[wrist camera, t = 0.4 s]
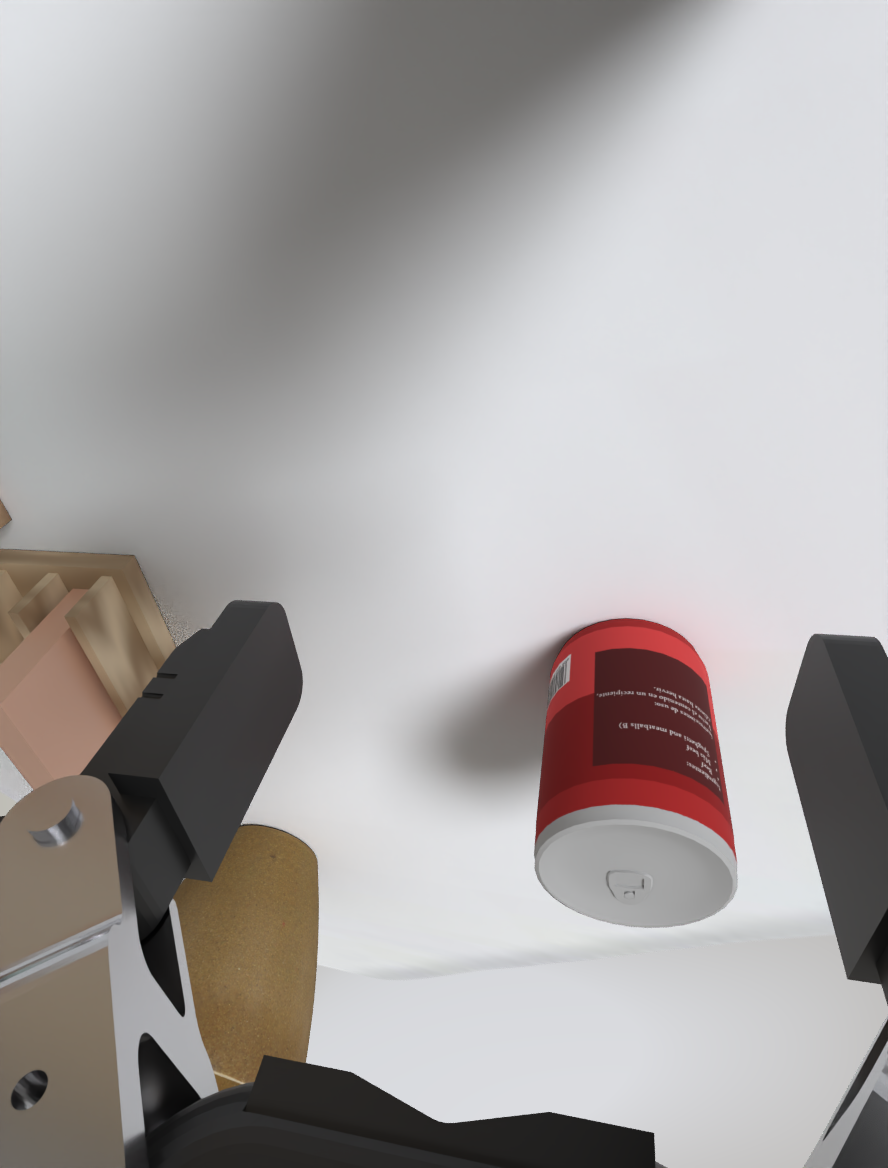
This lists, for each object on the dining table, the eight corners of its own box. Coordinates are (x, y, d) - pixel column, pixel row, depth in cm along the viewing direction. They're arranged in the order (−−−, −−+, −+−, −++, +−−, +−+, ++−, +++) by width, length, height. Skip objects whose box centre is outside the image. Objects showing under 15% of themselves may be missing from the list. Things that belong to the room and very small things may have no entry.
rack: (-102, 544, 39) (-169, 593, 35) (134, 555, 36) (85, 610, 32) (15, 708, 47) (-30, 760, 44) (212, 728, 44) (180, 785, 41)
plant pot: (164, 847, 57) (42, 1071, 45) (216, 769, 48) (81, 1024, 35) (321, 917, 60) (248, 1145, 48) (399, 857, 50) (332, 1120, 38)
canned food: (577, 732, 38) (568, 931, 30) (528, 630, 34) (502, 828, 26) (722, 713, 35) (757, 929, 27) (688, 598, 31) (717, 812, 22)
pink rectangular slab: (72, 588, 36) (-35, 701, 30) (102, 590, 36) (-1, 705, 30) (145, 722, 43) (70, 836, 37) (171, 725, 43) (99, 841, 37)
